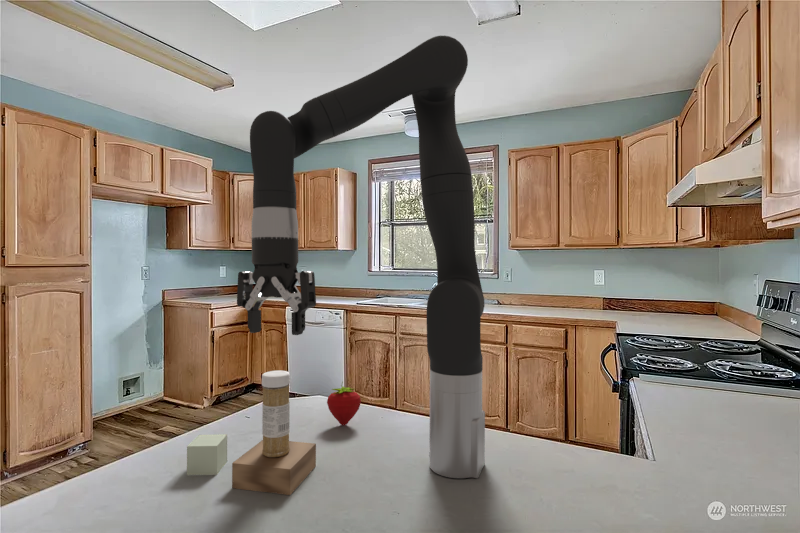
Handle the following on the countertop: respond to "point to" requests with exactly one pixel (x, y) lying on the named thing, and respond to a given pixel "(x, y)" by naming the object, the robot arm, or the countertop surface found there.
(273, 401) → the sprinkles bottle
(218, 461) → the sage cube
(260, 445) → the walnut block
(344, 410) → the strawberry
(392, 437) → the countertop surface
